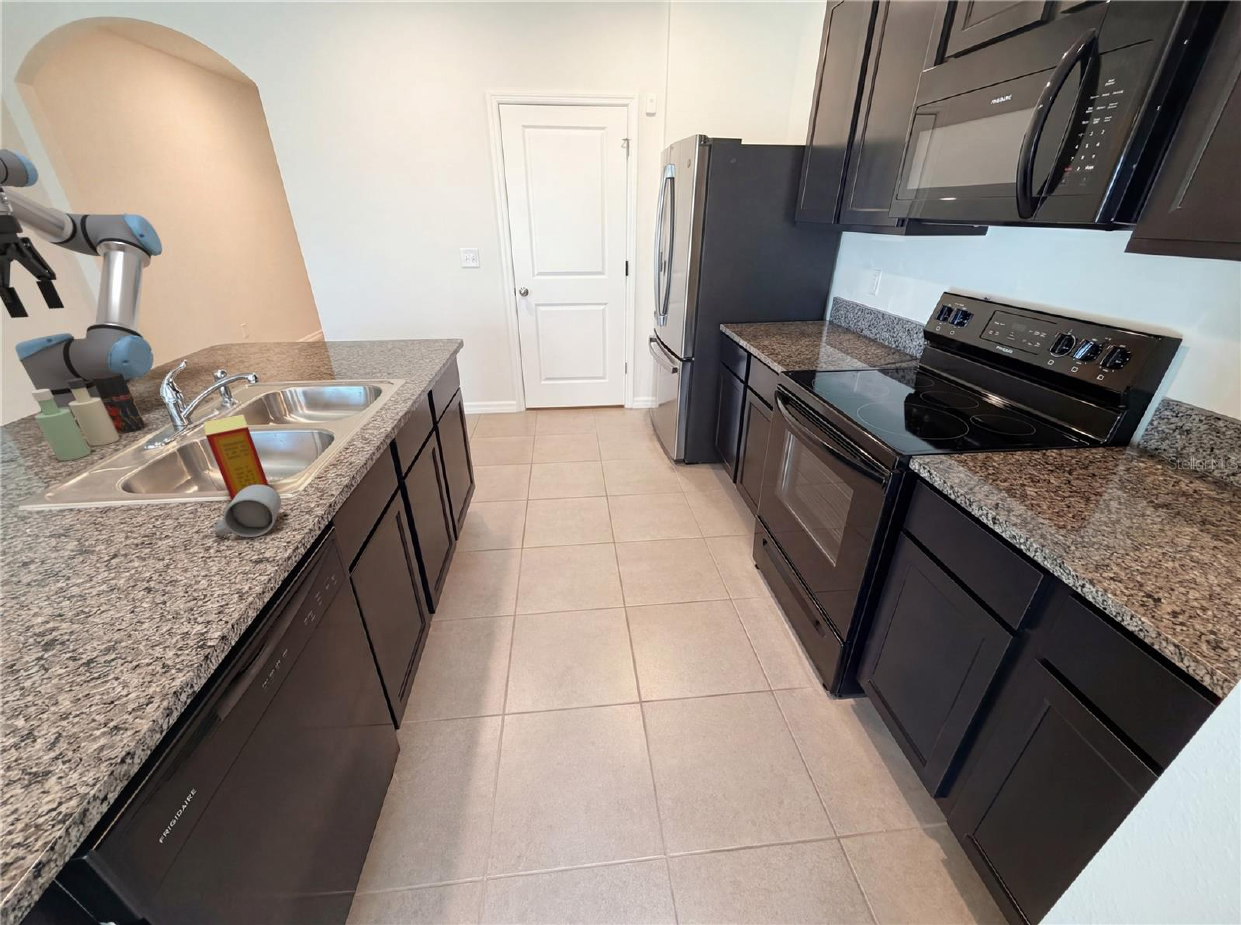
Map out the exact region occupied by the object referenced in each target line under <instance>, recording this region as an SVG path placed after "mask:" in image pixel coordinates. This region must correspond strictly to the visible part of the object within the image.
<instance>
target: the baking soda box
mask: <svg viewBox="0 0 1241 925" xmlns="http://www.w3.org/2000/svg"><path fill="white" fill-rule="evenodd" d="M203 426H204V432H205V437H206V440H207V442H208V445H209V447H210V450H211V452H212V455H213V458H214V460H215V462H216V464H217V467H218V470H219V472H220V475H221V477H222V479H223V482H224V485H225V487H226V490H227V492H228V494H229V497H230V499H231V501H232V500H233V499H234V498H235V496H236V495H237V494H238V493H239V492H240V491H241V490H243V489H244V488H246V487H248V486H251V485H266V486H269V487H270V484H269V482H268V479H267V476H266V474H265V471H264V468H263V465H262V462H261V460H260V457H259V453H258V452H257V449H256V446H255V443H254V440H253V437H252V435H251V431H250V429H249V426H248V423H247V421H246V418H245V415H244V413H240V414H236V415H235V414H234V415H231V416H230V415H229V416H225V417H220V418H215V419H210V420H204V421H203Z"/></svg>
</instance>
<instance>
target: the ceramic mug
mask: <svg viewBox="0 0 1241 925" xmlns="http://www.w3.org/2000/svg"><path fill="white" fill-rule="evenodd" d="M281 506H282V500H281V496H280V494H279V492H277V491H276V489H274V488H272V487H271V486H270V485H269V486H266V485H251V486H248V487H246V488H244V489H243V490H241V491H240V492H239V493H238V494H237V495H236V496H235V498H234V499H233V500H231V502H229V503H228V505H227V506H226V508H225V509H224V512H223V516H222V520H220V521H219V522H218V523H217V524H216V525H215V526H214V528H213V531H214V533H215V534H216V535H218V536H219V537H224V536H227V535H228V534H231V533H233V535H236V536H240V537H243V538H255V537H260V536H263V535H265V534H266V533H268V532H269V531H270V530H271V529H273V527H274V525H275V523H276V520H277V517H278V515H279V512H280V510H281Z"/></svg>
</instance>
